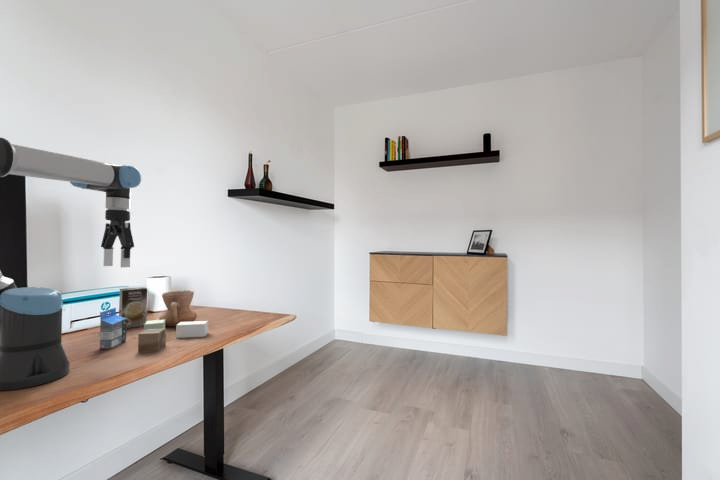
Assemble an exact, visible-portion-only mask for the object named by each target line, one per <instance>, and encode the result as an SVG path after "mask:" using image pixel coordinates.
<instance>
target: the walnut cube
mask: <svg viewBox="0 0 720 480" xmlns="http://www.w3.org/2000/svg"><path fill="white" fill-rule="evenodd" d="M166 330H167V329H166V327H165V329H146V330H145V331H144V330H142V331H141V332H139V333H138V338H137V339H138V341H137V345H138V346H137V347H138V348H137V349H138V350H137V352H138V353H142V352H143V353H145V352H146V353H147V352H159V351H160V350H162V349H163V348H164V347H166V343H167V341H166V340H167V339H166V336H167V335H166V334H167V331H166Z"/></svg>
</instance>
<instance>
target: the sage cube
mask: <svg viewBox="0 0 720 480" xmlns="http://www.w3.org/2000/svg"><path fill="white" fill-rule="evenodd" d="M143 327H144V328H143V331H145V330H146V329H165V328H166V325H165V319H164V320H159V319H154V320H146V323H145V324H144V326H143Z"/></svg>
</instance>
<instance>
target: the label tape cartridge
mask: <svg viewBox="0 0 720 480" xmlns="http://www.w3.org/2000/svg"><path fill="white" fill-rule="evenodd" d="M116 310H117V308H116V307H113V308H110V309H108V310H107V309H106V310H103V311H101V312H99V316H100V317H99V318H100V324H99V325H100V326H99V328H100V329H99V349H100V350H110V349H111V350H112V349H114V348H115V347H118V346H120V345H121V344H123V343H125V342H127V328H126V318H123V317H121V316H119V314H117V311H116Z"/></svg>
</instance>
